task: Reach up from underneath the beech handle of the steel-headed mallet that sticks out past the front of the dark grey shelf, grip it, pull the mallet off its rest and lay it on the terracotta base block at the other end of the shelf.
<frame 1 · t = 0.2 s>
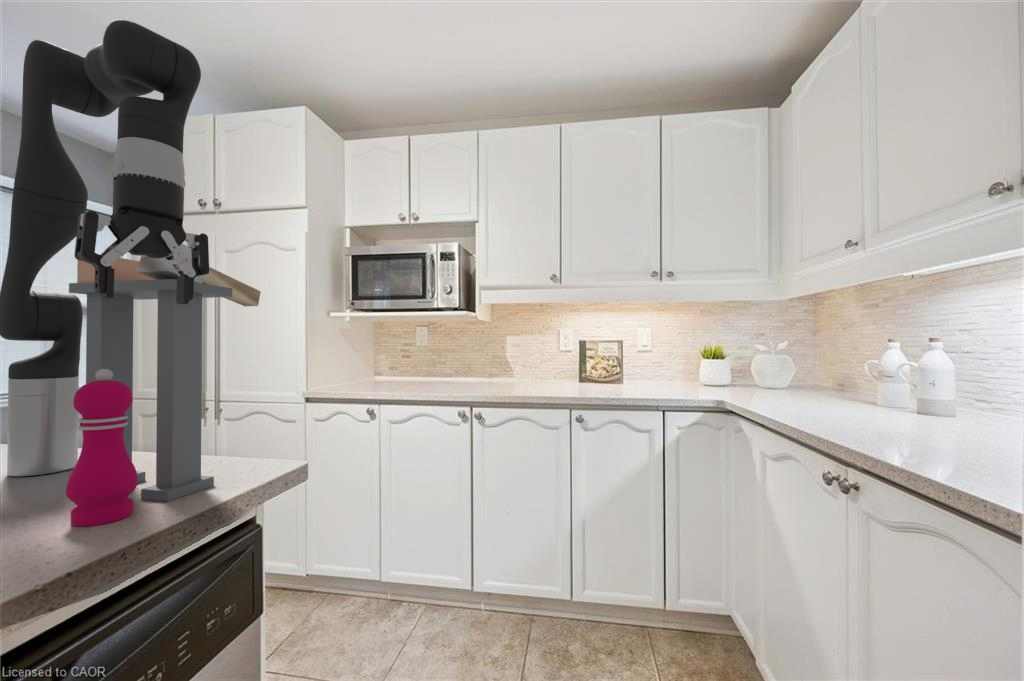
hand: (146, 301, 62), 29 cm above the counter, tool pointing down, fingers open, 8 cm apart
shelf: (152, 486, 76), on the counter
base block: (127, 286, 77), resting on shelf
mallet: (170, 278, 73), point 34 cm above the counter, tilted 13°, touching shelf
pepper mill: (102, 519, 62), on the counter
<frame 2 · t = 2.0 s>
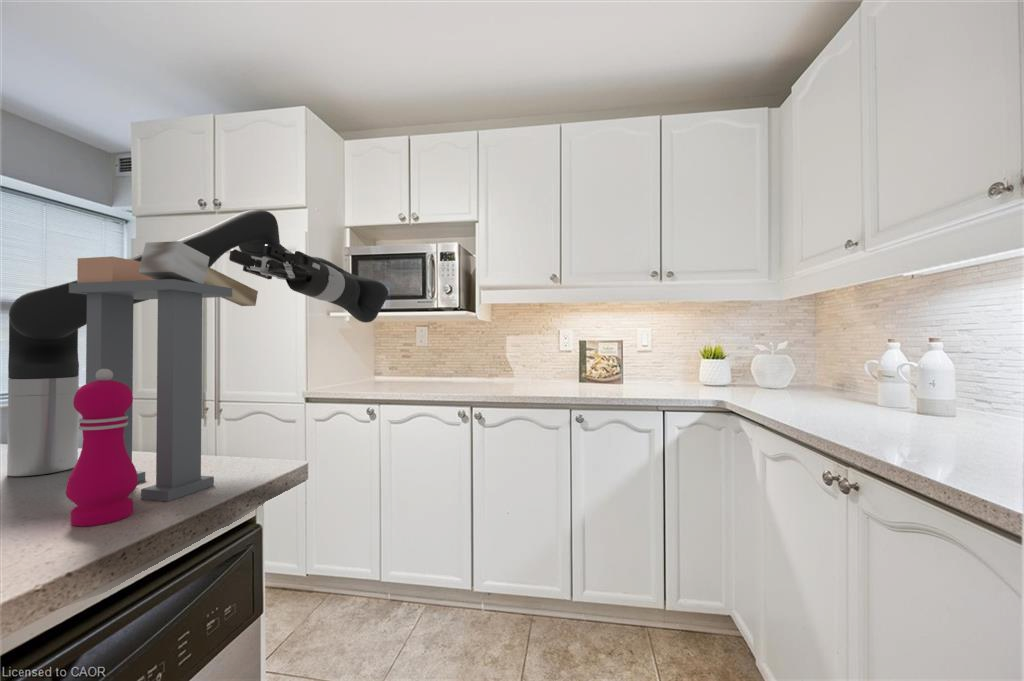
hand: (247, 252, 82), 40 cm above the counter, tool horizontal, fingers open, 8 cm apart
nothing on the counter moved.
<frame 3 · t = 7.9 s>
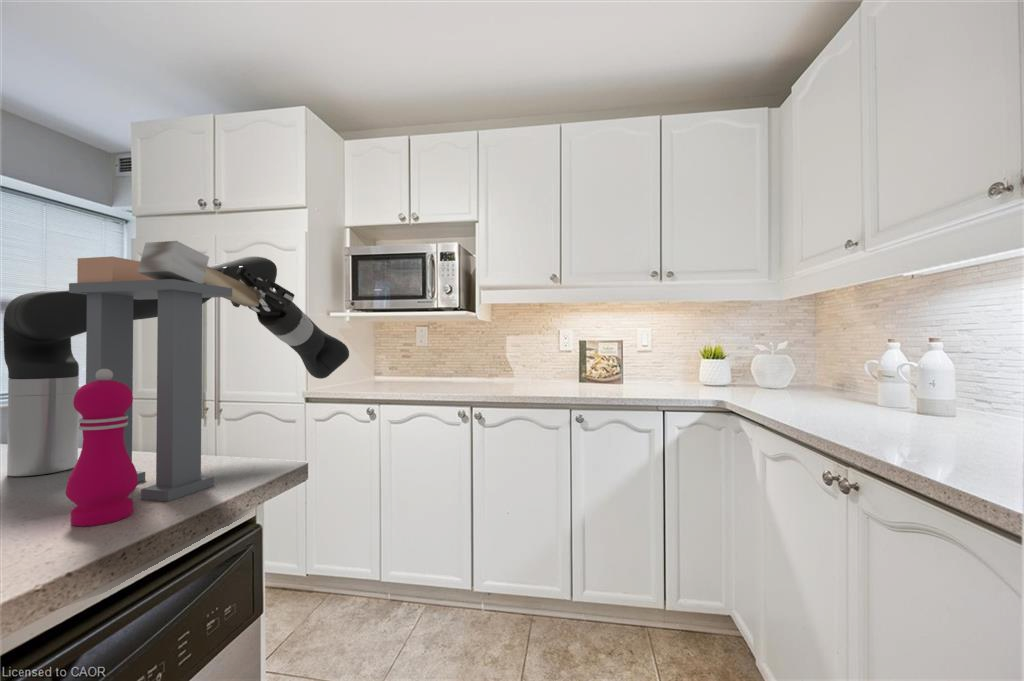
hand: (231, 270, 85), 37 cm above the counter, tool pointing upward, fingers closed on mallet, 3 cm apart
mallet: (171, 279, 73), point 34 cm above the counter, tilted 13°, touching gripper, shelf
everything else where it was.
when the fingers open (42 cm above the counter, at t = 16.3 s): mallet stays where it is, resting on base block.
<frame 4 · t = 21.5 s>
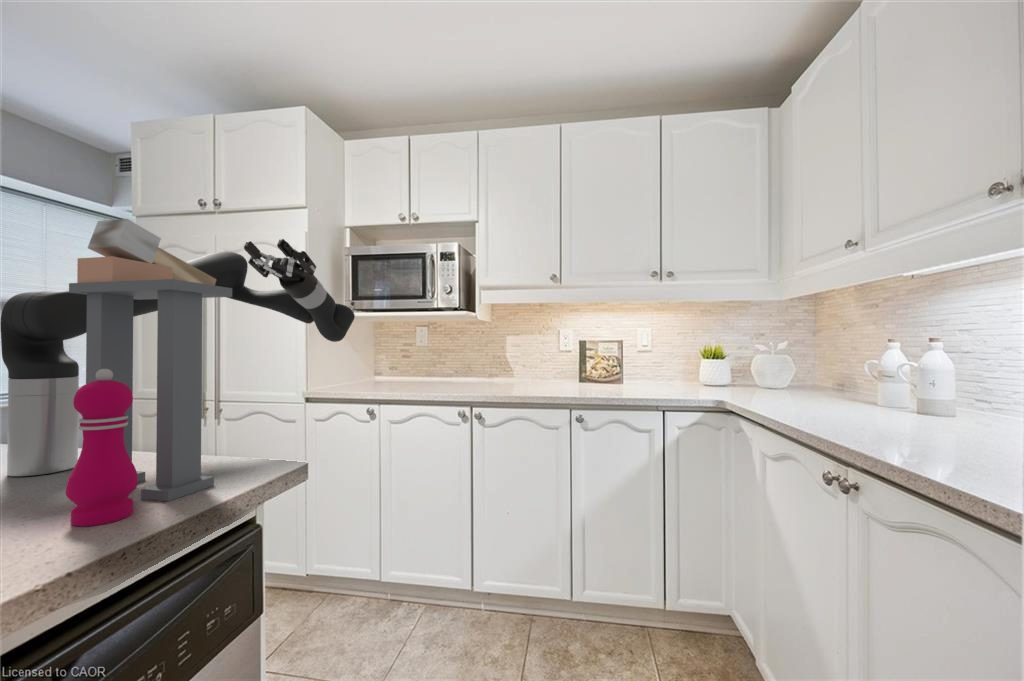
hand: (263, 242, 102), 46 cm above the counter, tool pointing upward, fingers open, 8 cm apart
mallet: (120, 256, 76), point 38 cm above the counter, tilted 18°, touching base block
everything else where it was.
at the end: mallet inside the target area on the base block (1.2 cm from its centre), point 4.9 cm above the base block's base; mallet touching base block; the gripper is holding nothing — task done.
